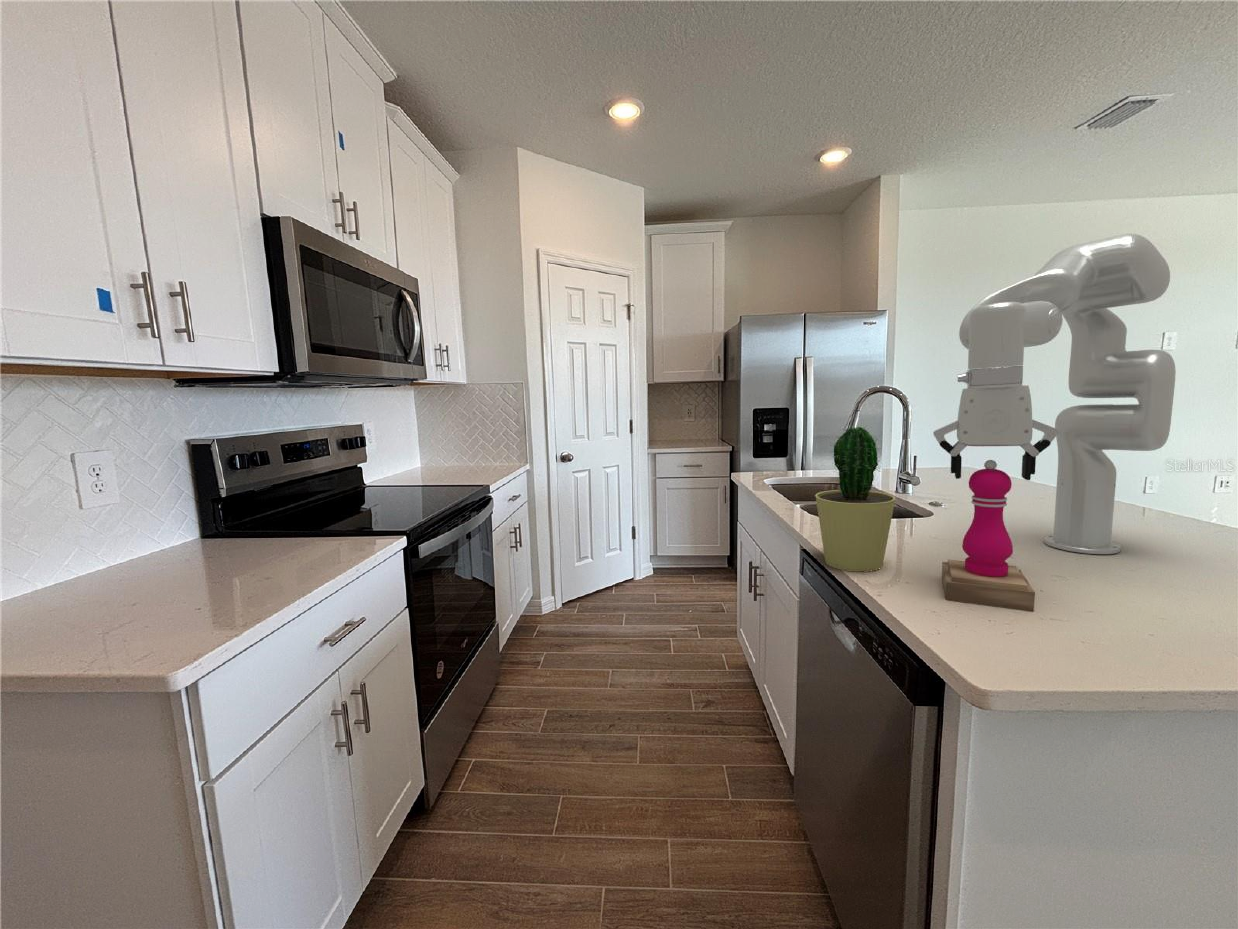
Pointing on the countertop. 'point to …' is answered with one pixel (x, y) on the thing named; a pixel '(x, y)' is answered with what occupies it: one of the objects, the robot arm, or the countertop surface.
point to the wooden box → (987, 587)
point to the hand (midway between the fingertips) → (990, 478)
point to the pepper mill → (988, 523)
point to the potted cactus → (855, 507)
